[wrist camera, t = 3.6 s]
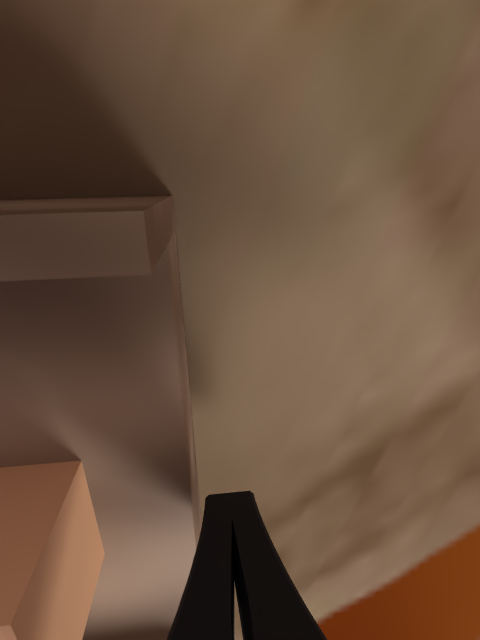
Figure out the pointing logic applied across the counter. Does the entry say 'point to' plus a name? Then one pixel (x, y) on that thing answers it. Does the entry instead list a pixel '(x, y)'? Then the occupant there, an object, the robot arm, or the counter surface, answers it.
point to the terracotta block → (47, 552)
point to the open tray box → (105, 388)
